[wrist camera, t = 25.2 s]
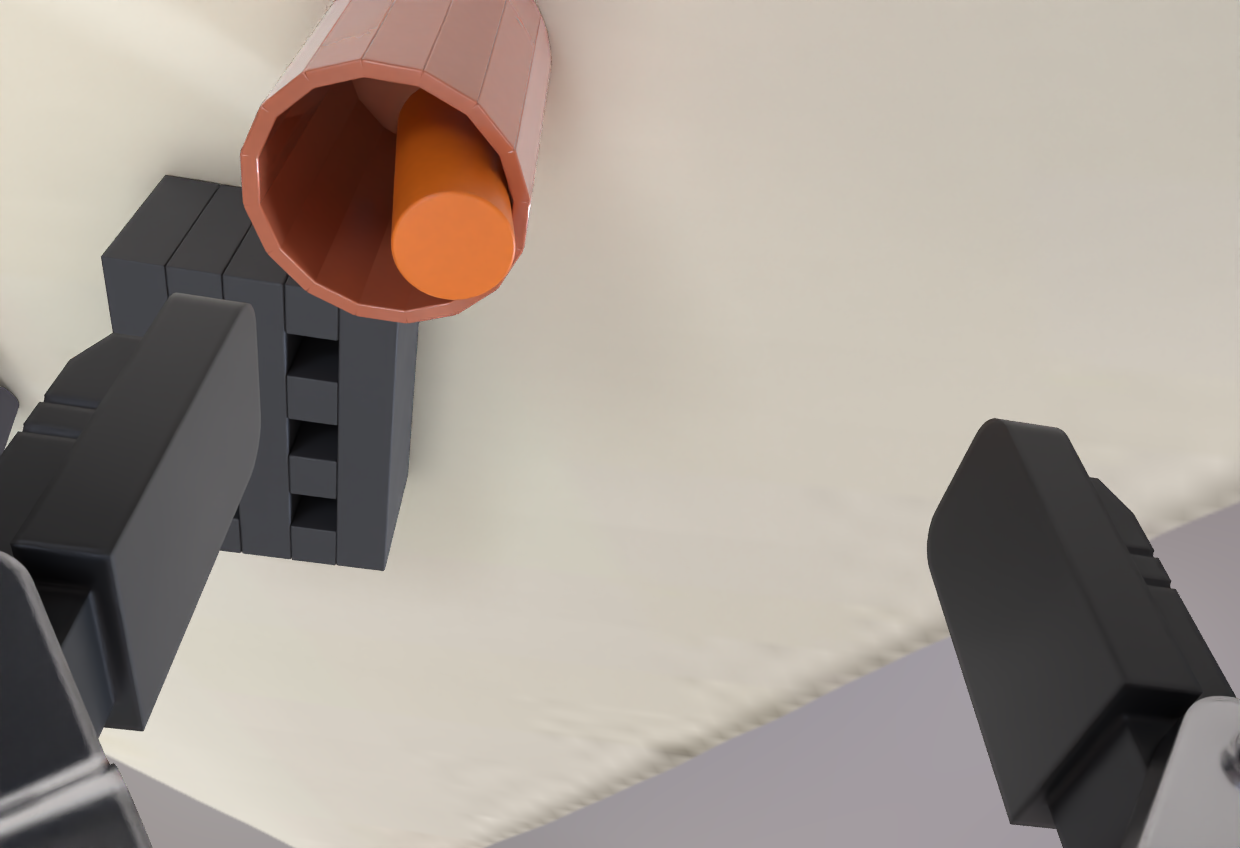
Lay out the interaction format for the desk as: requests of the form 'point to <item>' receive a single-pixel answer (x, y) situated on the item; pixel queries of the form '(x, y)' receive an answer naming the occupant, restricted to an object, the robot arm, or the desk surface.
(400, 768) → the desk surface
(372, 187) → the pen cup
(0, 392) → the clip-on lamp
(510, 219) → the orange cylinder rod
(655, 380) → the desk surface
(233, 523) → the holder
